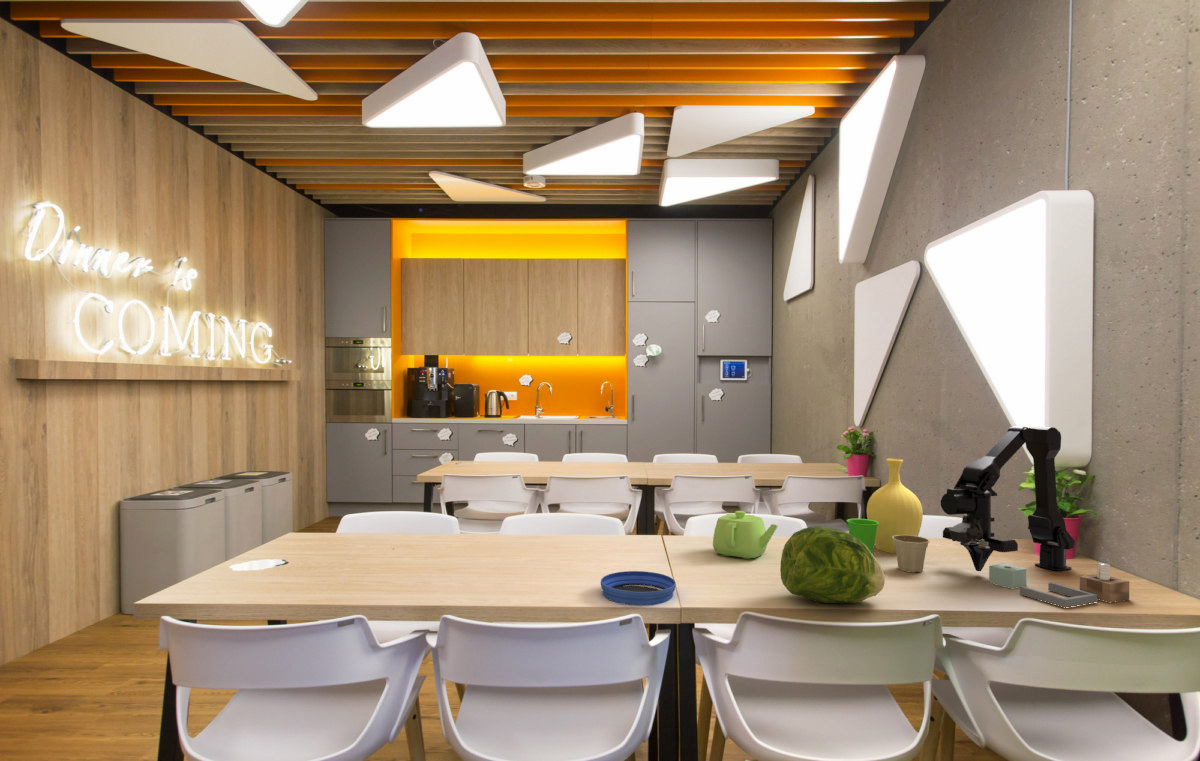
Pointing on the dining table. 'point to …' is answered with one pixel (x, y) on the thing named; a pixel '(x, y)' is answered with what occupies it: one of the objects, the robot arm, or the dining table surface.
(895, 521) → the vase
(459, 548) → the dining table surface
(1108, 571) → the cylinder
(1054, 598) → the grey u-shaped bracket
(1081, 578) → the block
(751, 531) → the teapot
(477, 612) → the dining table surface
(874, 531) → the cup
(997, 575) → the block
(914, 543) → the flower pot
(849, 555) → the lettuce
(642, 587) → the bowl
